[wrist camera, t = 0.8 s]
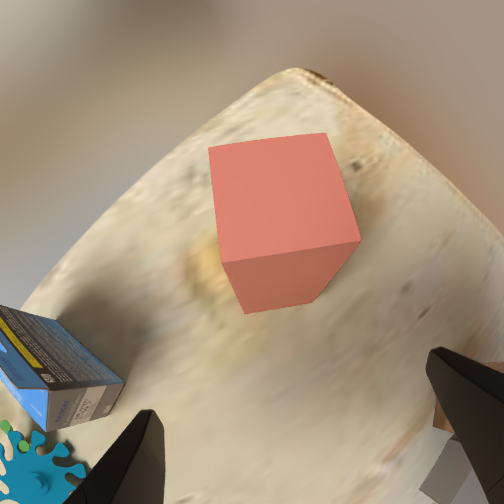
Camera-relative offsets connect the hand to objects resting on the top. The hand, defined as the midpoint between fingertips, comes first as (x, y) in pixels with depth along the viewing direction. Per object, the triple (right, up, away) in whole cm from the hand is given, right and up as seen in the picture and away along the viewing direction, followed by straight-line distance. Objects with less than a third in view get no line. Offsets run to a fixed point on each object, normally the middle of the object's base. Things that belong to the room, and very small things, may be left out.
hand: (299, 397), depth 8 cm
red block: (0, +3, +15) cm, 15 cm away
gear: (-19, -15, +10) cm, 26 cm away
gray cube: (+16, -14, +8) cm, 23 cm away
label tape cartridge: (-16, -5, +13) cm, 21 cm away
